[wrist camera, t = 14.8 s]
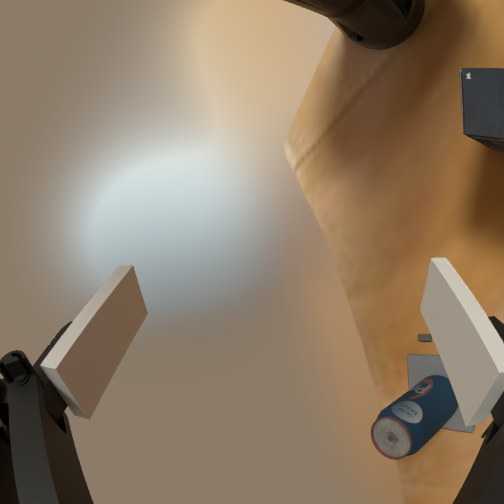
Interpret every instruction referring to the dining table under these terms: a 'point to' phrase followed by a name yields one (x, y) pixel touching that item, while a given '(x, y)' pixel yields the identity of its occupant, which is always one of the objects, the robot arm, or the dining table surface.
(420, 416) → the soda can
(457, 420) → the slate pad
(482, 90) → the box
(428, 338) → the perforation line
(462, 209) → the dining table surface
